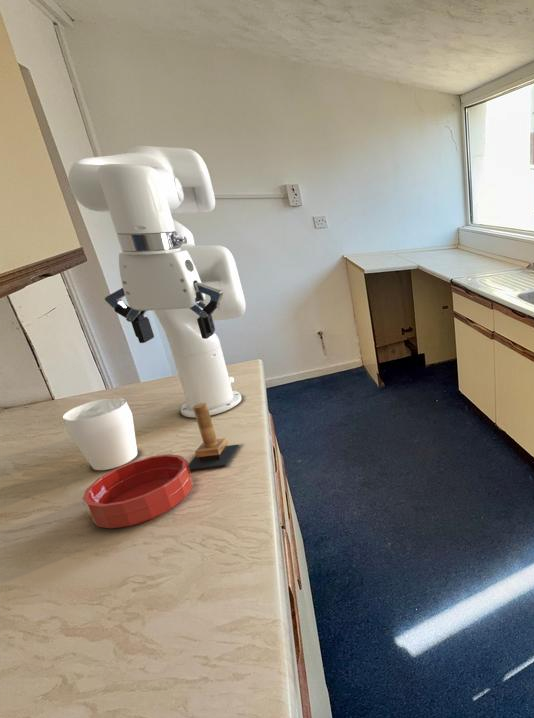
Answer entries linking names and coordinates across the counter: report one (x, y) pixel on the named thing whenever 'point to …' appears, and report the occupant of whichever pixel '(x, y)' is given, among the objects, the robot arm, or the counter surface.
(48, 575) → the counter surface
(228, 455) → the mat
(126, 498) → the bowl
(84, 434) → the cup
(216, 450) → the wooden stamp
